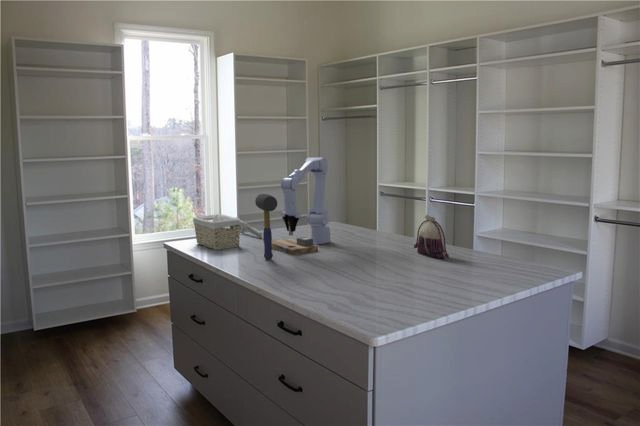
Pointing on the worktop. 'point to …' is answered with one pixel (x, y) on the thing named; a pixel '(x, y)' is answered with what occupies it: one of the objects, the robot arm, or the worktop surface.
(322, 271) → the worktop surface
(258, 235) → the gun
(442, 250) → the pouch
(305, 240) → the block
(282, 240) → the board
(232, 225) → the storage basket
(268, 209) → the rubber mallet
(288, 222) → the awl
